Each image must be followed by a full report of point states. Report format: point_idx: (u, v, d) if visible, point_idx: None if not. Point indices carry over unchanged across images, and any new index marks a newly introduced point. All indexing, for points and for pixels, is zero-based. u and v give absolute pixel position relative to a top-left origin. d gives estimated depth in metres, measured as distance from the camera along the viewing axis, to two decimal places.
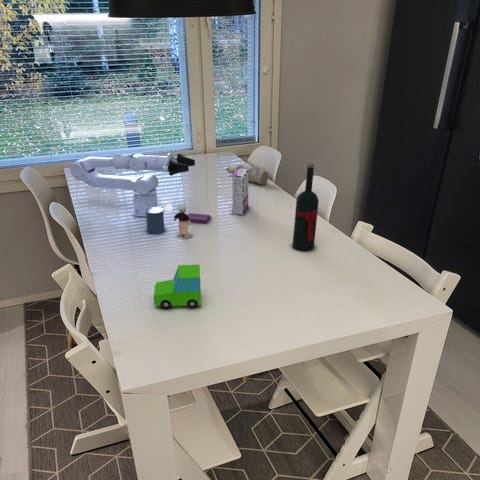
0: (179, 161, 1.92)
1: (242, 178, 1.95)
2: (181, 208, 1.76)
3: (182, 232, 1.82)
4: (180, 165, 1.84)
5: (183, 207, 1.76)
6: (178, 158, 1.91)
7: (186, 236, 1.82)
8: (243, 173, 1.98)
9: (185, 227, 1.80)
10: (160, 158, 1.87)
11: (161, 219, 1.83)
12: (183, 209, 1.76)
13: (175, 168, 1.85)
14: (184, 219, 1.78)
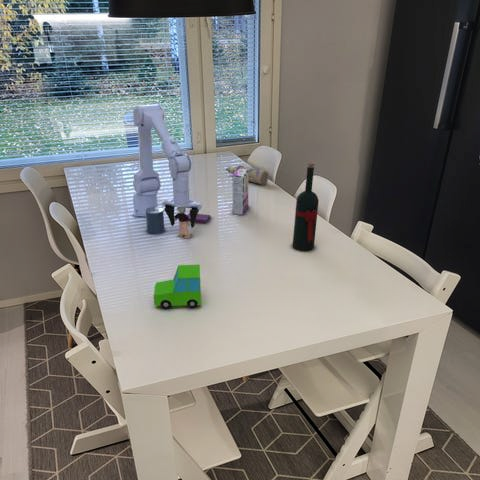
0: None
1: (242, 178, 1.95)
2: (180, 209, 1.75)
3: (182, 232, 1.81)
4: None
5: (182, 208, 1.75)
6: None
7: (186, 236, 1.82)
8: (243, 173, 1.98)
9: (185, 227, 1.80)
10: (175, 196, 1.73)
11: (161, 219, 1.83)
12: (183, 210, 1.76)
13: None
14: (184, 219, 1.78)
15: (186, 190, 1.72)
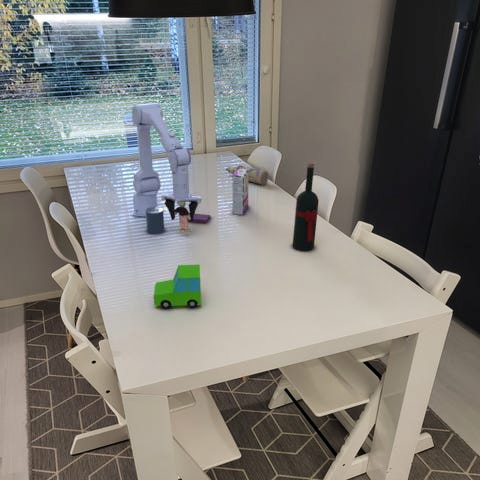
0: None
1: (242, 178, 1.95)
2: (180, 202, 1.74)
3: (182, 226, 1.80)
4: None
5: (182, 201, 1.74)
6: None
7: (186, 230, 1.80)
8: (243, 173, 1.98)
9: (185, 221, 1.78)
10: (174, 189, 1.72)
11: (161, 219, 1.83)
12: (182, 203, 1.74)
13: None
14: (184, 213, 1.77)
15: (186, 184, 1.71)
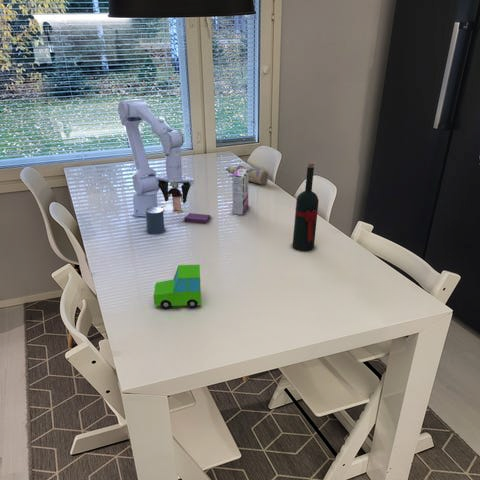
0: None
1: (242, 178, 1.95)
2: (173, 184, 1.80)
3: (175, 207, 1.86)
4: None
5: (175, 183, 1.80)
6: None
7: (179, 211, 1.86)
8: (243, 173, 1.98)
9: (178, 203, 1.84)
10: (168, 171, 1.78)
11: (161, 219, 1.83)
12: (175, 185, 1.80)
13: None
14: (177, 195, 1.82)
15: (179, 165, 1.77)
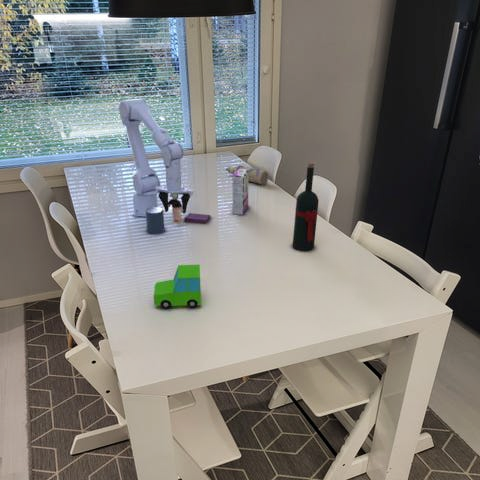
0: None
1: (242, 178, 1.95)
2: (173, 195, 1.83)
3: (175, 218, 1.89)
4: None
5: (175, 194, 1.83)
6: None
7: (179, 222, 1.89)
8: (243, 173, 1.98)
9: (178, 213, 1.87)
10: (168, 182, 1.81)
11: (161, 219, 1.83)
12: (175, 196, 1.84)
13: None
14: (177, 205, 1.86)
15: (179, 177, 1.81)
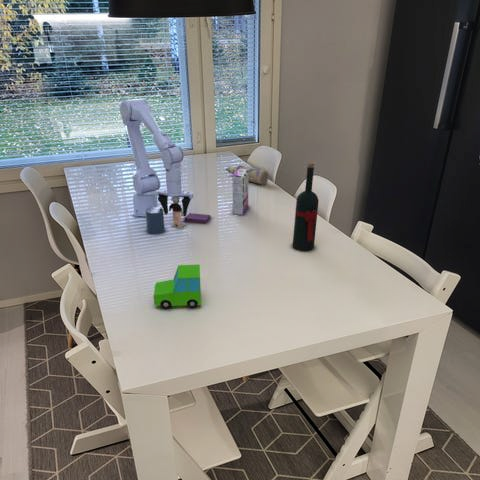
0: None
1: (242, 178, 1.95)
2: (174, 199, 1.85)
3: (176, 222, 1.90)
4: None
5: (176, 198, 1.85)
6: None
7: (179, 226, 1.90)
8: (243, 173, 1.98)
9: (178, 217, 1.89)
10: (168, 185, 1.82)
11: (161, 219, 1.83)
12: (176, 200, 1.85)
13: None
14: (177, 209, 1.87)
15: (179, 180, 1.81)
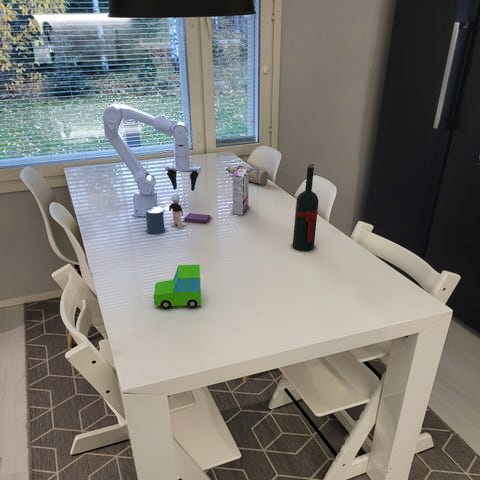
0: None
1: (242, 178, 1.95)
2: (174, 199, 1.85)
3: (176, 222, 1.90)
4: None
5: (176, 198, 1.85)
6: None
7: (179, 226, 1.90)
8: (243, 173, 1.98)
9: (178, 217, 1.89)
10: (176, 160, 1.90)
11: (161, 219, 1.83)
12: (176, 200, 1.85)
13: None
14: (177, 209, 1.87)
15: None
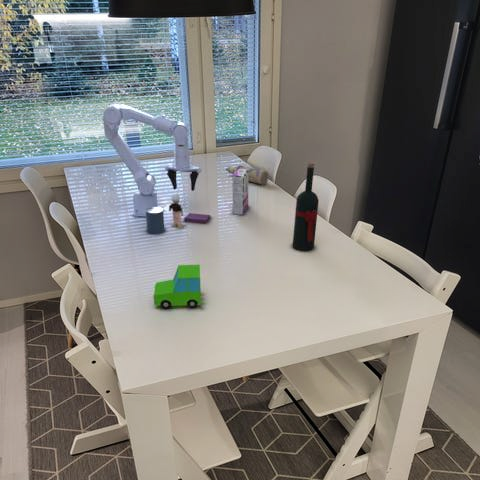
0: None
1: (242, 178, 1.95)
2: (174, 199, 1.85)
3: (176, 222, 1.90)
4: None
5: (176, 198, 1.85)
6: None
7: (179, 226, 1.90)
8: (243, 173, 1.98)
9: (178, 217, 1.89)
10: (176, 160, 1.90)
11: (161, 219, 1.83)
12: (176, 200, 1.85)
13: None
14: (177, 209, 1.87)
15: None
